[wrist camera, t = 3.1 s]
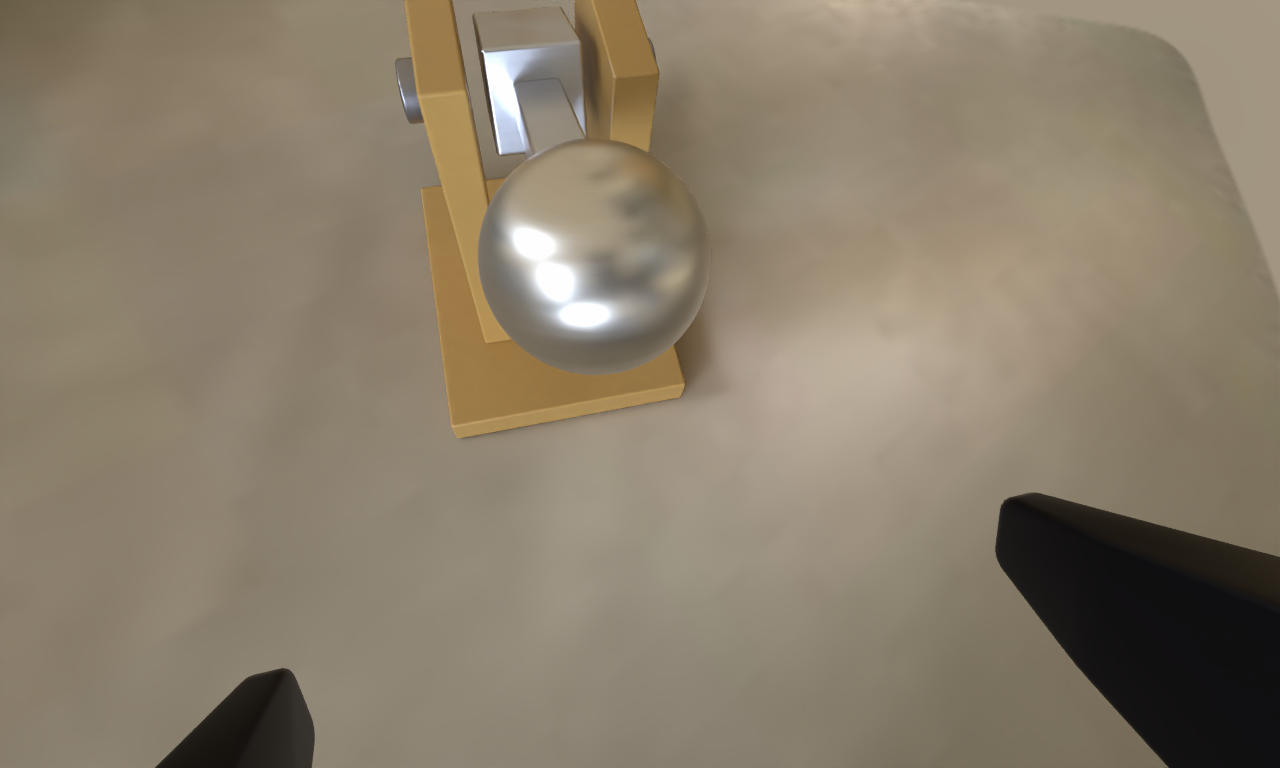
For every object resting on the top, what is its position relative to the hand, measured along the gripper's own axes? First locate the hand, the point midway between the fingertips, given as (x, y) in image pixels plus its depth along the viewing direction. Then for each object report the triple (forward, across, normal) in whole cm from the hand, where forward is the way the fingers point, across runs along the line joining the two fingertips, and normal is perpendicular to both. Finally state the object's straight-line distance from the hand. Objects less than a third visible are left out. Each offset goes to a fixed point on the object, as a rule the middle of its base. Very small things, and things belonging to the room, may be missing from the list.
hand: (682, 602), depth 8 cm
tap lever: (+8, 0, -3) cm, 9 cm away
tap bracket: (+18, 0, 0) cm, 18 cm away
